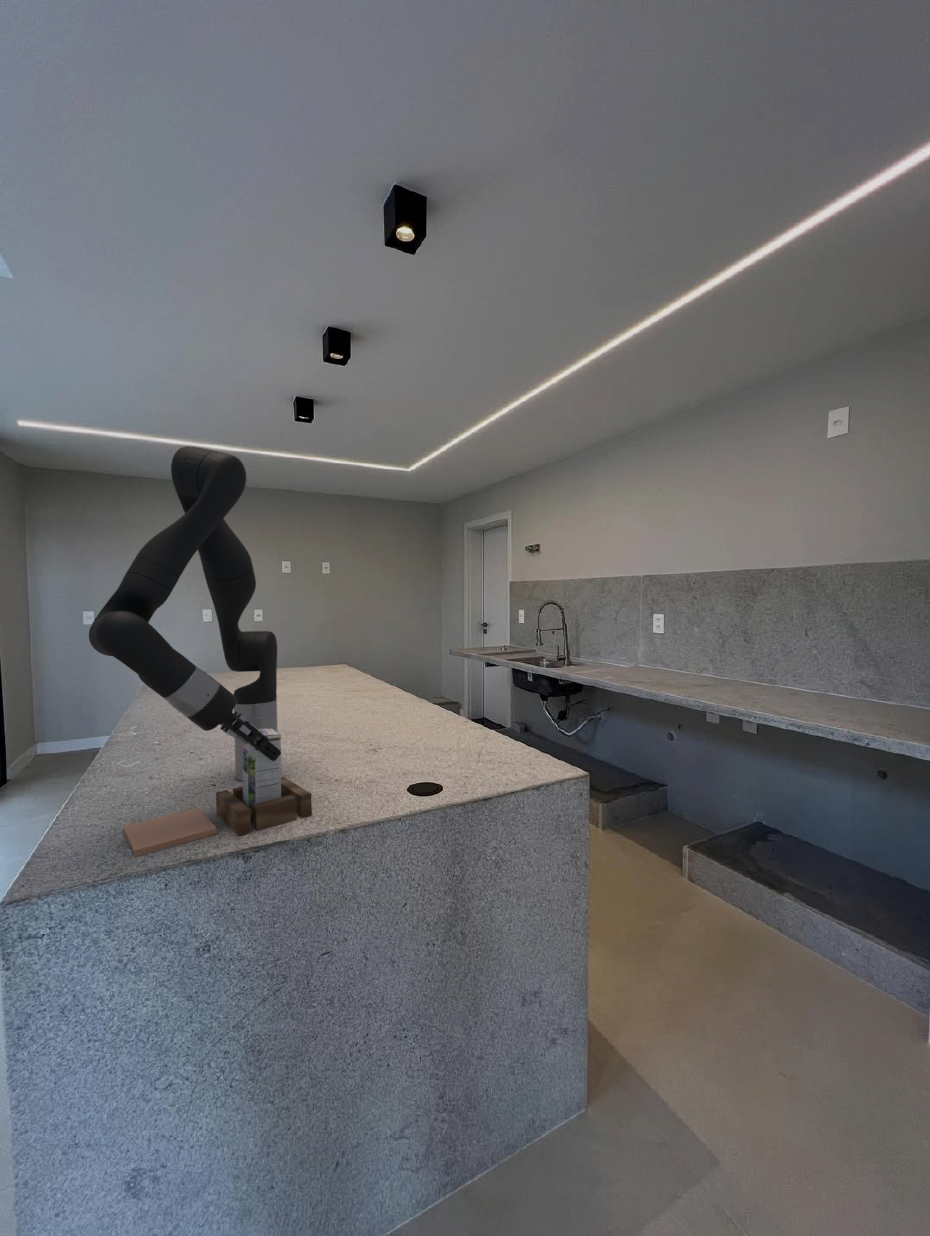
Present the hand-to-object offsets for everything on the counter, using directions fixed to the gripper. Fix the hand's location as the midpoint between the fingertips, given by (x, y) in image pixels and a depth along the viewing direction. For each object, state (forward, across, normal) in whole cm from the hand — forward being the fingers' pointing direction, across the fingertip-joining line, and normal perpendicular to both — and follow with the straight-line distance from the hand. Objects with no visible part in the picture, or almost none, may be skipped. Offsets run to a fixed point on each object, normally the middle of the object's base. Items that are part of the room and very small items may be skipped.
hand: (270, 752), depth 98 cm
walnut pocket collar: (+7, 0, +9) cm, 11 cm away
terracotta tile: (-4, +3, +20) cm, 20 cm away
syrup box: (+6, 0, +9) cm, 11 cm away
